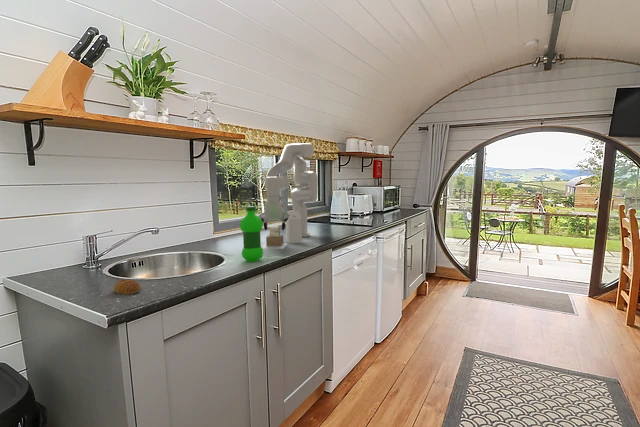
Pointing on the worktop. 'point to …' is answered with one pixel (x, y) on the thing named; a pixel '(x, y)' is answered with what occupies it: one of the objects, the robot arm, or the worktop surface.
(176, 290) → the worktop surface
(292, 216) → the milk carton
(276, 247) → the blueprint board
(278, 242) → the walnut base block
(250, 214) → the plastic bottle
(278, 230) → the cream cube
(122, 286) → the pastry
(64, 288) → the worktop surface
